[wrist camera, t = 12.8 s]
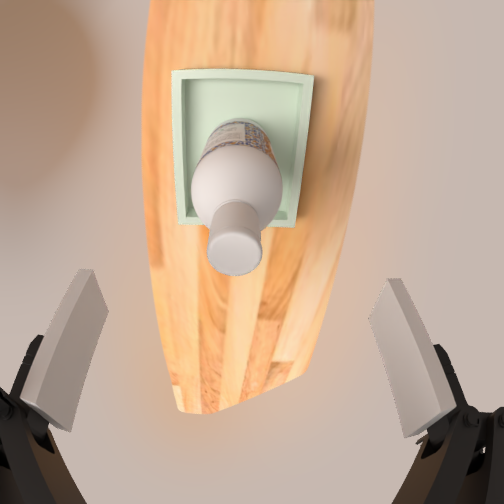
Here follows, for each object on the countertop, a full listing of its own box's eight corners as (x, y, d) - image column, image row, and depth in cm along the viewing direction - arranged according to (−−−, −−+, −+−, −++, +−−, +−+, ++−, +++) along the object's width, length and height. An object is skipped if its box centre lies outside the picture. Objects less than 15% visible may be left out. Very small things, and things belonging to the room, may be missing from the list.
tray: (178, 69, 26) (171, 70, 24) (307, 74, 27) (314, 75, 25) (182, 212, 37) (178, 224, 35) (291, 215, 38) (294, 227, 35)
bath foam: (268, 175, 33) (293, 302, 17) (208, 174, 33) (178, 301, 17) (271, 117, 29) (309, 197, 13) (206, 117, 29) (159, 196, 13)
